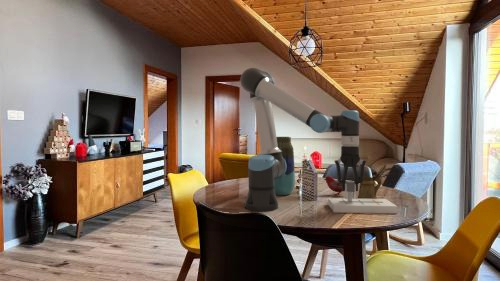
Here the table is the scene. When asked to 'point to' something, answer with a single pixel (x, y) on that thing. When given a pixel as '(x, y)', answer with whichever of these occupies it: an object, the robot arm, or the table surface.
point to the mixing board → (361, 205)
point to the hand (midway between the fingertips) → (349, 198)
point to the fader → (350, 189)
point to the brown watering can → (370, 186)
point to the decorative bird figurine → (334, 185)
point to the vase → (288, 179)
